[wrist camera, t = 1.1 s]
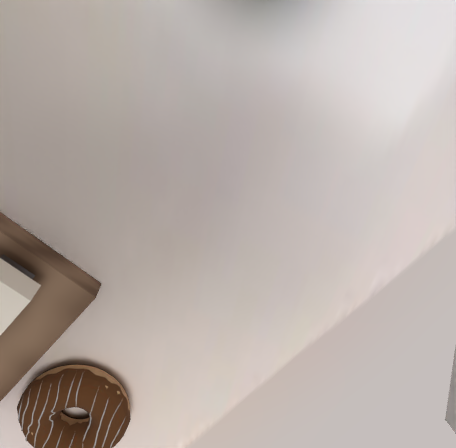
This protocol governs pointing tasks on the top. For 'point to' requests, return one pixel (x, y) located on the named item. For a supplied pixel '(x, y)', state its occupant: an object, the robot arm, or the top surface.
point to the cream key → (14, 293)
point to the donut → (74, 397)
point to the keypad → (39, 301)
